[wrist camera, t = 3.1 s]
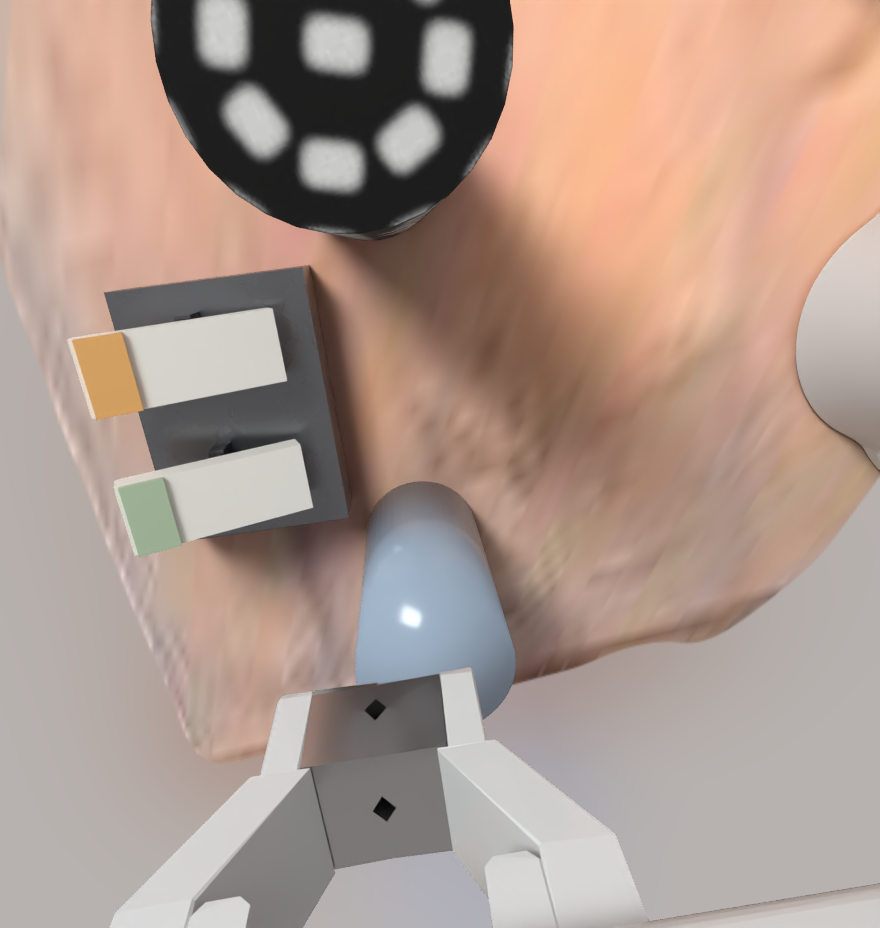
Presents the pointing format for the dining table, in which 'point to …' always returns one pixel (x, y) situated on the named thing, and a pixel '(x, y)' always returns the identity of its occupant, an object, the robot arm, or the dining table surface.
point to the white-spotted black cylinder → (337, 101)
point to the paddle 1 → (177, 361)
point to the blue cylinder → (430, 595)
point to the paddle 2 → (212, 496)
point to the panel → (255, 409)
